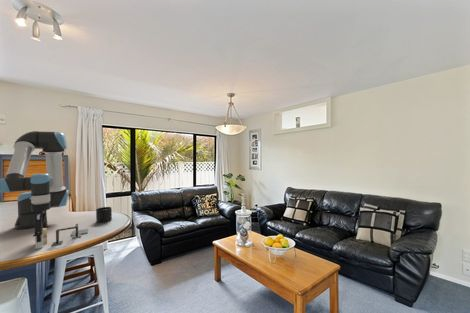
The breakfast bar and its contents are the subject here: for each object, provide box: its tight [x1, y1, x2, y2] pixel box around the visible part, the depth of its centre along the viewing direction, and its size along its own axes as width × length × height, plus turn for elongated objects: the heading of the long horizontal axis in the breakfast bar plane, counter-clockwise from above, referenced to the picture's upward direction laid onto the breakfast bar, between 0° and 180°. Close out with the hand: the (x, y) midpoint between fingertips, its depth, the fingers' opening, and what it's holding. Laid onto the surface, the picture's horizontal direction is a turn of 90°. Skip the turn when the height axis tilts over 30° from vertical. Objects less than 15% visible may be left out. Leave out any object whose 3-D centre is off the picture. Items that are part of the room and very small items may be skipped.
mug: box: [95, 206, 113, 224], centre depth 151 cm, size 9×12×9 cm
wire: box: [51, 223, 82, 247], centre depth 117 cm, size 10×12×8 cm
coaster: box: [70, 228, 89, 237], centre depth 129 cm, size 8×8×1 cm
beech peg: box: [38, 228, 48, 246], centre depth 112 cm, size 4×4×8 cm
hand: (41, 244), depth 112 cm, fingers open, 11 cm apart
